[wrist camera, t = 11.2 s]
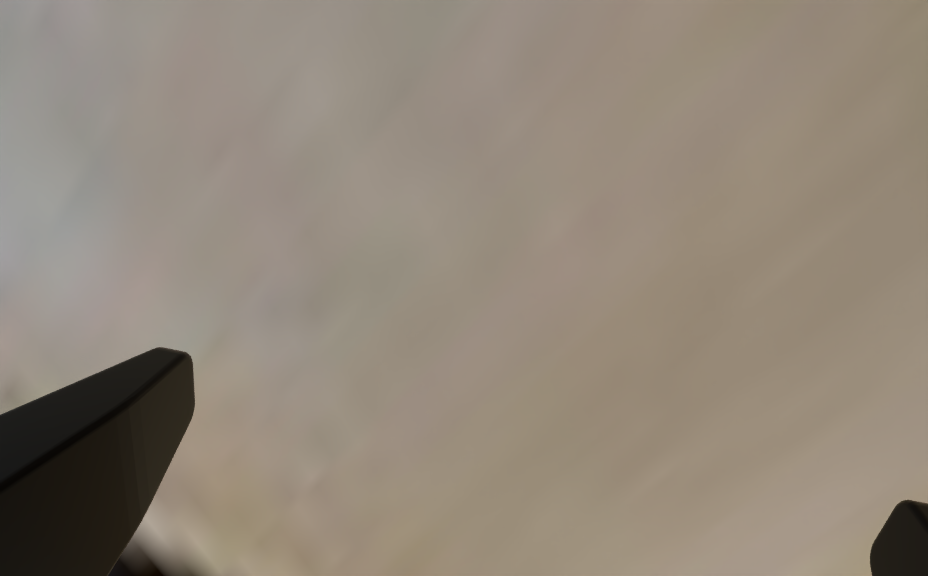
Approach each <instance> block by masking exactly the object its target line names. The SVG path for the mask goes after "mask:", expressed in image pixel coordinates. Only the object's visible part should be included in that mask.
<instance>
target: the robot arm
mask: <svg viewBox="0 0 928 576" xmlns="http://www.w3.org/2000/svg"><path fill="white" fill-rule="evenodd" d="M194 407H195V395H194V376H193V362H192V359H191V356H190V355H189V354H188V353H186V352H183V351H178V350H173V349H168V348H163V347H158V348H155V349H152V350H150V351H147V352H145V353H143V354H140V355H138V356H136V357H133V358H131V359H129V360H126V361H124V362H122V363H119V364H117V365H115V366H112V367H110V368H108V369H105V370H103V371H101V372H98V373H96V374H94V375H92V376H89V377H87V378H85V379H82V380H80V381H78V382H75V383H73V384H71V385H68V386H66V387H64V388H61V389H59V390H57V391H54V392H52V393H50V394H47V395H45V396H43V397H41V398H38V399H36V400H34V401H31V402H29V403H27V404H24V405H22V406H20V407H17V408H15V409H13V410H10V411H8V412H6V413H3V414H1V415H0V576H108V574H109V573H110V571H111V570H112V568H113V566H114V565H115V563H116V562H117V560H118V559H119V557H120V555H121V554H122V552H123V551H124V549H125V547H126V546H127V544H128V543H129V541H130V540H131V538H132V536H133V535H134V533H135V531H136V530H137V528H138V526H139V525H140V523H141V521H142V519H143V517H144V515H145V514H146V512H147V510H148V508H149V506H150V504H151V502H152V500H153V498H154V496H155V494H156V492H157V489H158V487H159V485H160V483H161V481H162V479H163V477H164V475H165V473H166V471H167V469H168V467H169V465H170V463H171V461H172V459H173V457H174V454H175V452H176V450H177V448H178V446H179V444H180V442H181V440H182V438H183V436H184V434H185V432H186V430H187V428H188V426H189V424H190V421H191V419H192V416H193V412H194ZM870 566H871V572H872V576H928V504H927V503H922V502H917V501H912V500H904V501H901V502H900V503H898V504H897V505H896V507H895V508H894V510H893V511H892V513H891V515H890V516H889V518H888V520H887V521H886V523H885V525H884V526H883V528H882V529H881V531H880V533H879V534H878V536H877V538H876V539H875V541H874V543H873V545H872V548H871V553H870Z"/></svg>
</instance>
